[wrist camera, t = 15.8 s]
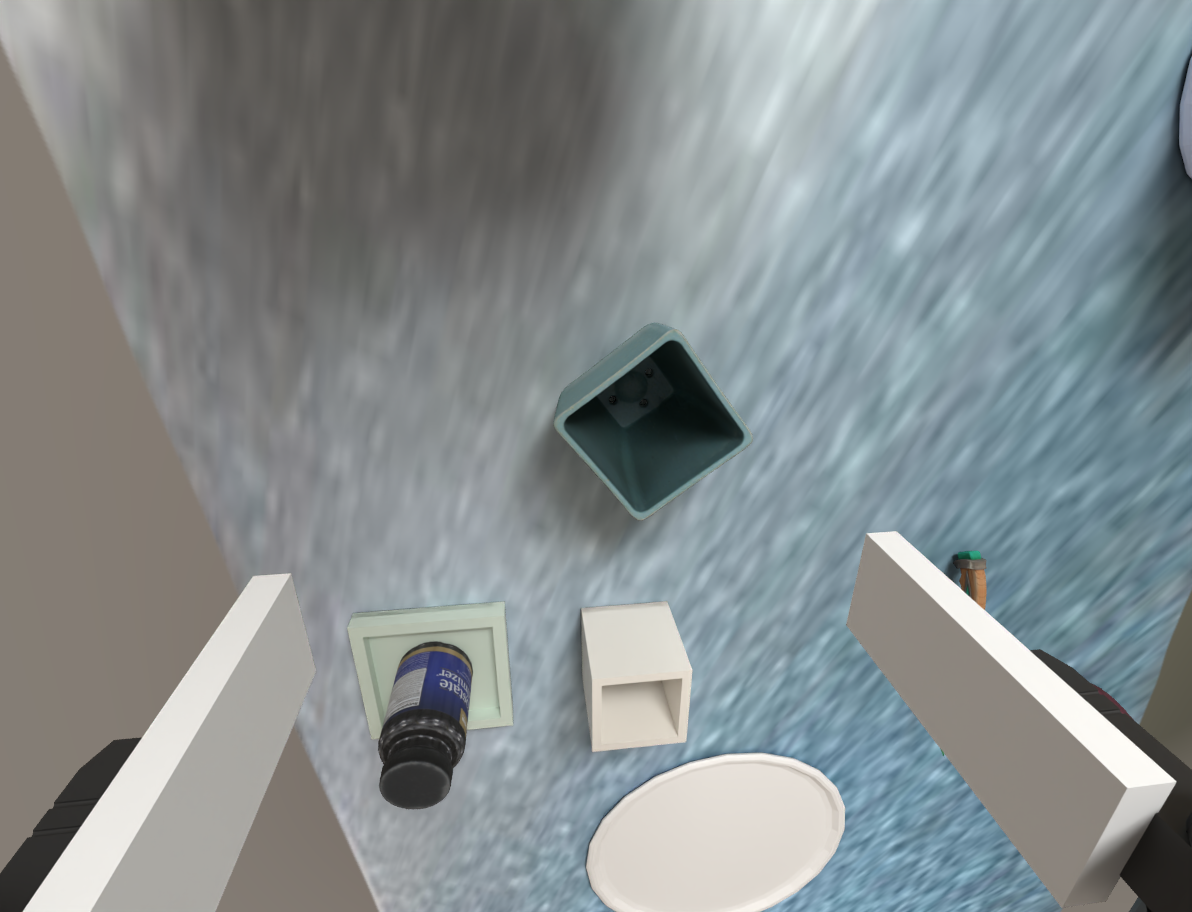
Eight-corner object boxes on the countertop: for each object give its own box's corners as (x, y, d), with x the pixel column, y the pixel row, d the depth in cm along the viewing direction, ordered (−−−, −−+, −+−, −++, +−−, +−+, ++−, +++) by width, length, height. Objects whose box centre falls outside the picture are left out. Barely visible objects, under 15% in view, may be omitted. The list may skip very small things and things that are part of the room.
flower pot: (616, 464, 44) (639, 525, 36) (542, 377, 41) (549, 424, 33) (712, 394, 43) (757, 441, 35) (643, 297, 40) (676, 325, 31)
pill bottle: (487, 673, 50) (480, 791, 40) (427, 705, 51) (406, 829, 41) (444, 626, 48) (425, 741, 38) (382, 660, 48) (347, 782, 38)
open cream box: (581, 608, 49) (592, 679, 42) (667, 601, 50) (692, 670, 43) (582, 674, 52) (592, 752, 45) (663, 667, 53) (686, 742, 46)
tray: (353, 613, 47) (347, 628, 45) (504, 601, 48) (504, 615, 47) (376, 722, 52) (371, 739, 50) (513, 708, 53) (513, 725, 51)
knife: (950, 540, 52) (991, 574, 47) (969, 538, 52) (1012, 572, 47) (904, 716, 60) (935, 759, 56) (921, 714, 61) (953, 757, 56)
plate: (625, 944, 72) (627, 957, 70) (549, 799, 59) (550, 810, 58) (853, 872, 71) (858, 883, 70) (825, 711, 59) (831, 721, 58)
